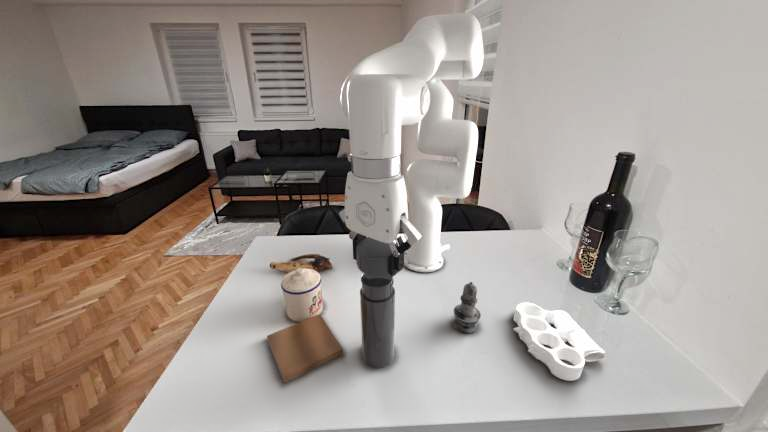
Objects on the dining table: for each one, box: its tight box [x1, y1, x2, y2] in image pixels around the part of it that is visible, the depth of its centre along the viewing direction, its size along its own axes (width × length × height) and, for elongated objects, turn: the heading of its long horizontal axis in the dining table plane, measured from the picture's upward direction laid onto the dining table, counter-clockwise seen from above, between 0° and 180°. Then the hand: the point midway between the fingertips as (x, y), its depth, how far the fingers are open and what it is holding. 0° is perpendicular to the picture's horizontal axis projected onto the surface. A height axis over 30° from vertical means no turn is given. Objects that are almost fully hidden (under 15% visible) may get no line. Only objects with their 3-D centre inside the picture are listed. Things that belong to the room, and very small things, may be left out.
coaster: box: [266, 313, 344, 384], centre depth 63 cm, size 12×12×2 cm
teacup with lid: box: [280, 268, 324, 323], centre depth 73 cm, size 12×9×12 cm
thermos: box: [359, 273, 396, 369], centre depth 58 cm, size 6×6×19 cm
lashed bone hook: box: [269, 253, 333, 273], centre depth 90 cm, size 9×5×18 cm
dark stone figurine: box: [453, 281, 482, 335], centre depth 67 cm, size 6×6×12 cm
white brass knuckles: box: [512, 302, 607, 382], centre depth 64 cm, size 3×18×15 cm
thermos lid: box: [355, 237, 399, 276], centre depth 52 cm, size 7×7×4 cm
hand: (377, 263), depth 53 cm, fingers closed on thermos lid, 7 cm apart
